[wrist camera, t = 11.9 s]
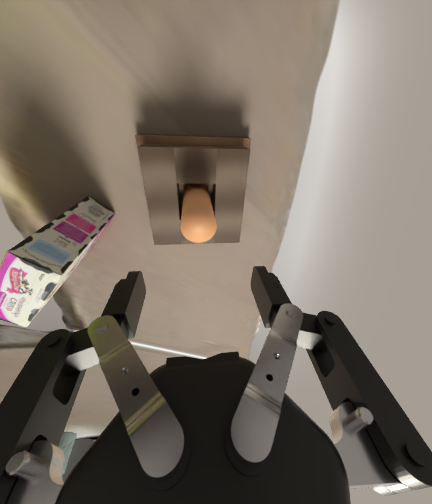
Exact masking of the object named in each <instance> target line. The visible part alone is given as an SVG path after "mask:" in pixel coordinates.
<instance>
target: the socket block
mask: <svg viewBox="0 0 432 504" xmlns="http://www.w3.org/2000/svg"><path fill="white" fill-rule="evenodd" d="M135 137H136V142H137V148H138V154H139V160H140V165H141V171H142V177H143V182H144V188H145V194H146V200H147V205H148V211H149V217H150V222H151V228H152V234H153V239H154V244H155V245H168V244H203V243H238V242H239V241H240V232H241V224H242V215H243V206H244V198H245V189H246V181H247V172H248V164H249V155H250V141H251V138H239V137H207V136H174V135H142V134H137V135H135ZM189 183H203V184H204V185H205V186H206V187H207V189H208V192H209V196H210V200H211V204H212V208H213V212H214V216H215V220H216V224H217V229H216V232H215V234H214V236H213V237H212V238H211V239H210V240H208V241H206V242H202V243H195V242H191V241H189V240H188V239H186V238H185V237H184V236H183V234H182V232H181V216H182V207H183V197H184V190H185V188H186V186H187V185H188V184H189Z"/></svg>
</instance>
